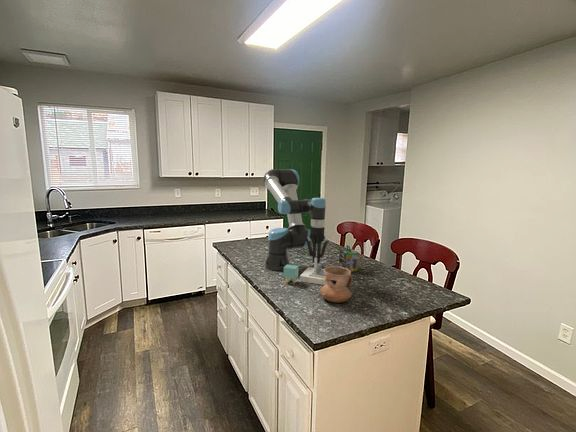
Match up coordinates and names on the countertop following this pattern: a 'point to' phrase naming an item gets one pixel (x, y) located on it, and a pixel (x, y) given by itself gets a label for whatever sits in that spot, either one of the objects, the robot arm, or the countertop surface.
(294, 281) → the teal block figurine
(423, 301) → the countertop surface
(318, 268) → the clear glass piece
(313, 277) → the socket
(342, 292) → the ceramic jug
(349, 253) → the chalk box
